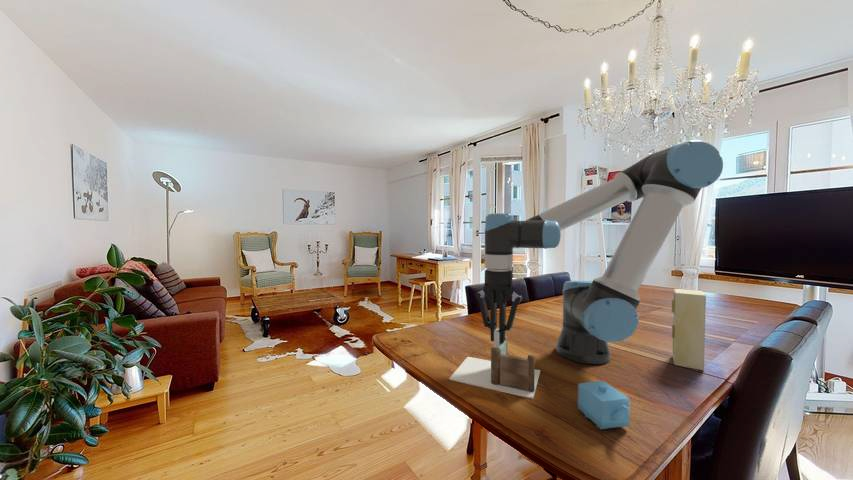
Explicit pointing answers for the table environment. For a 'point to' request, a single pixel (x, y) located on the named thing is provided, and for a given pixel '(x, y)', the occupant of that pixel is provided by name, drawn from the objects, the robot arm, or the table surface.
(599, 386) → the teapot
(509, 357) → the fixed fence
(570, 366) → the table surface
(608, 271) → the robot arm
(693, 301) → the toy refrigerator
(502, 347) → the swing panel
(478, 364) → the card
